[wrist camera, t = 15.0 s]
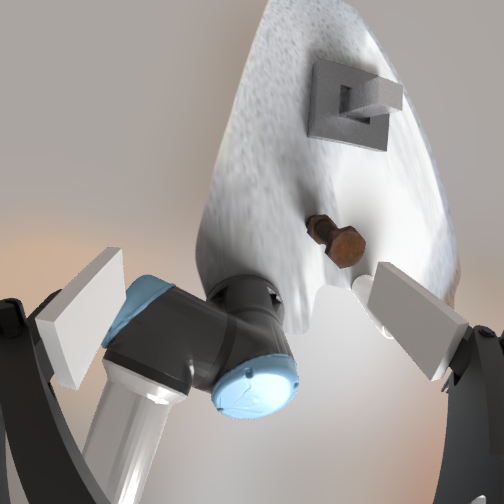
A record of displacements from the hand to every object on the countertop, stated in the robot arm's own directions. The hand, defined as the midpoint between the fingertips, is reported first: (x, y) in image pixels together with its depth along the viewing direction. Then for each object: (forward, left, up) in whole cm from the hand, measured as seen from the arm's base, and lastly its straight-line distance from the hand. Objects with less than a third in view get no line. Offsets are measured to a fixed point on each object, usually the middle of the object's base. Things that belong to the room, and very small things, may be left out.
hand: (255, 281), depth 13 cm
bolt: (-4, -15, -35) cm, 38 cm away
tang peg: (+18, -19, -34) cm, 43 cm away
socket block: (+18, -19, -35) cm, 43 cm away
